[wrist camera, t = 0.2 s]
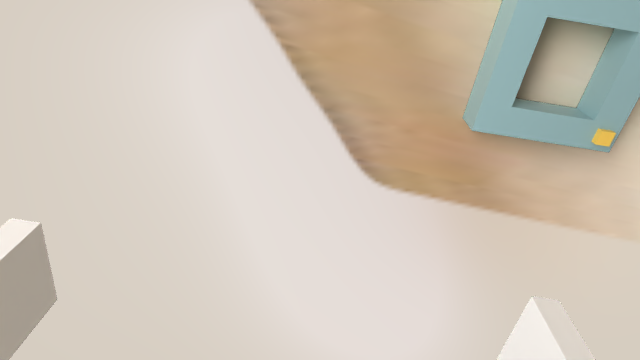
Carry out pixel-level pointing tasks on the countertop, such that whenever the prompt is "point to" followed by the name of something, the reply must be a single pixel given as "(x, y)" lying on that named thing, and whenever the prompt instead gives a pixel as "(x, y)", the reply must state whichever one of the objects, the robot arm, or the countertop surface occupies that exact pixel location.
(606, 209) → the countertop surface
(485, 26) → the countertop surface
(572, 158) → the countertop surface
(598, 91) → the frame
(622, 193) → the countertop surface
